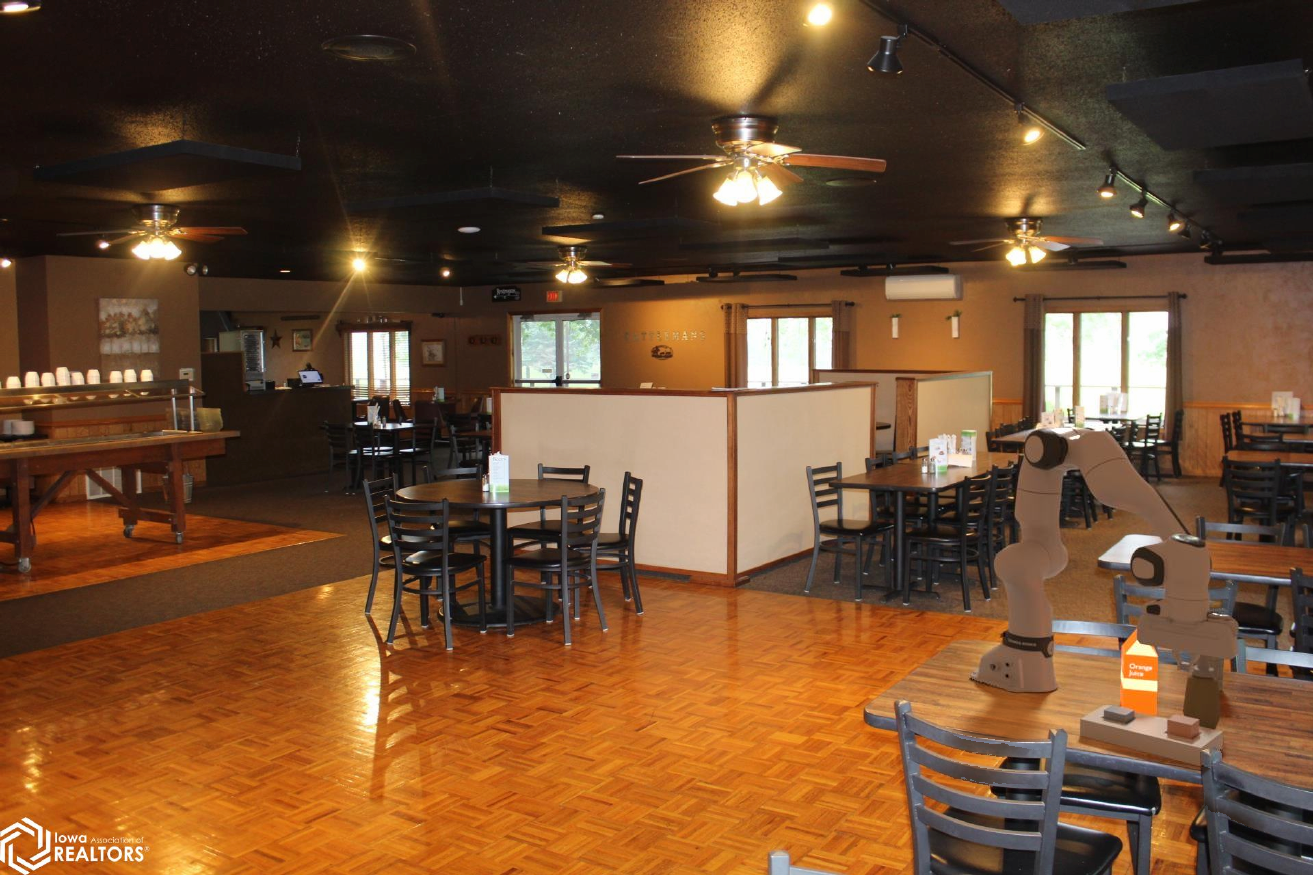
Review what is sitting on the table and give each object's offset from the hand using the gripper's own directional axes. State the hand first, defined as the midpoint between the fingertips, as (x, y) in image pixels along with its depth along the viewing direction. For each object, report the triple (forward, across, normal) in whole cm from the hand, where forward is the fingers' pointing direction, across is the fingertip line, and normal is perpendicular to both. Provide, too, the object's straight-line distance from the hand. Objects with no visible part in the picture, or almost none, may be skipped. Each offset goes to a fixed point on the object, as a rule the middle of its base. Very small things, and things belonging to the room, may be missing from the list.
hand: (1185, 670), depth 230 cm
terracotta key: (+15, 0, 0) cm, 15 cm away
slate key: (+16, +14, 0) cm, 22 cm away
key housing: (+18, +7, 0) cm, 19 cm away
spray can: (+18, +11, -51) cm, 55 cm away
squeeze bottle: (+18, +2, -18) cm, 26 cm away
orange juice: (+18, +18, -22) cm, 34 cm away
